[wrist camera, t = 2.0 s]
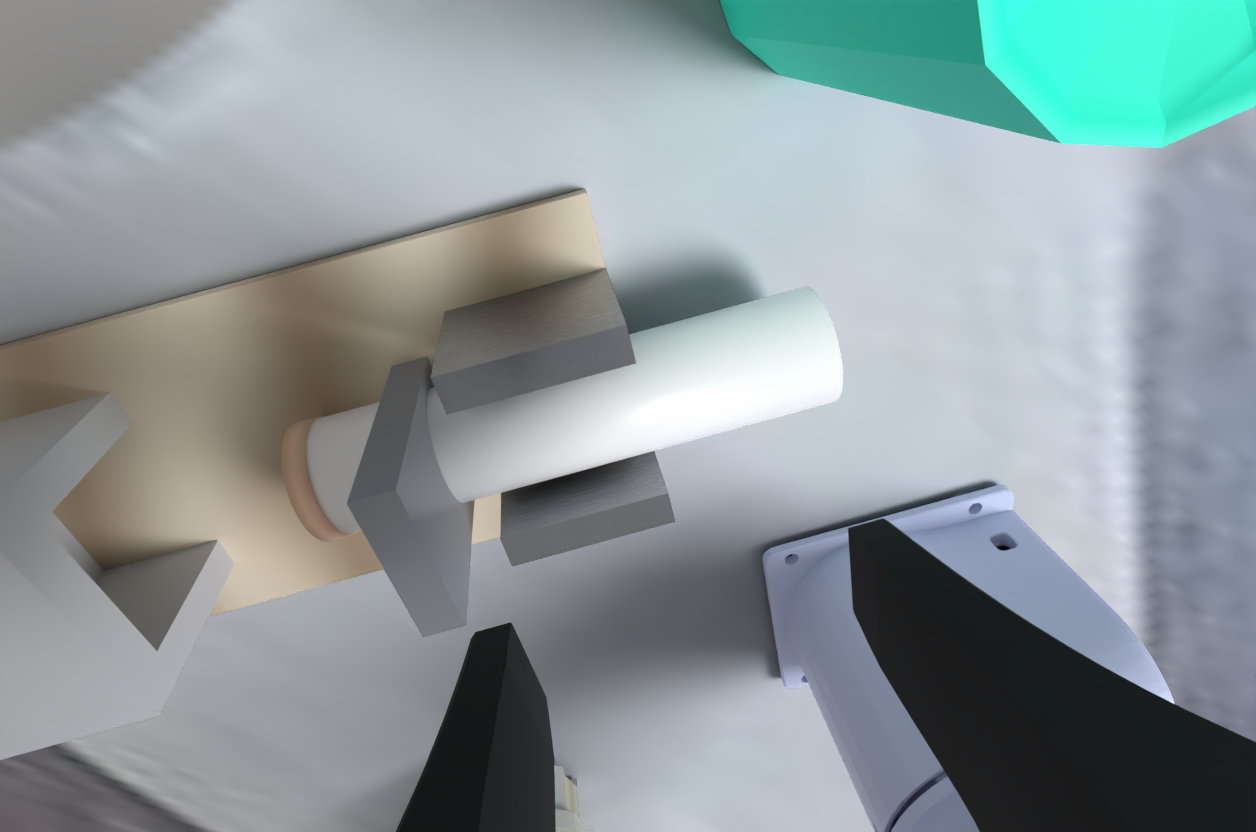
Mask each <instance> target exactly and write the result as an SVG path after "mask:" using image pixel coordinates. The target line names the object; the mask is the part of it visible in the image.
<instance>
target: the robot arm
mask: <svg viewBox="0 0 1256 832" xmlns="http://www.w3.org/2000/svg"><path fill="white" fill-rule="evenodd" d="M1013 499H1014V496H1013V493H1012V492H1011V491H1010V490H1009V489H1008V488H1007V487H1006V486H1004V485H996V486H993V487H989V488H985V489H982V490H978V491H975V492H971V493H967V494H964V495H960V496H956V497H953V498H949V499H946V500H942V501H938V502H935V503H931V504H927V505H924V506H920V507H916V508H913V509H909V510H906V511H902V512H898V513H895V514H891V515H887V516H884V517H880V518H877V519H873V520H869V521H866V522H862V523H858V524H855V525H851V526H848V527H844V528H840V529H837V530H833V531H829V532H826V533H822V534H819V535H815V536H811V537H808V538H804V539H800V540H797V541H793V542H789V543H786V544H782V545H779V546H775V547H772V548H770V549H768V550H767V551H766V552H765V553H764V555H763V558H762V561H763V568H764V574H765V580H766V586H767V593H768V599H769V605H770V611H771V617H772V624H773V630H774V636H775V642H776V648H777V655H778V661H779V667H780V673H781V679H782V681H783V683H784V685H785V687H787V688H790V689H795V688H799V687H803V686H806V685H810V688H811V690H812V692H813V694H814V697H815V699H816V701H817V703H818V706H819V708H820V710H821V712H822V715H823V717H824V719H825V721H826V724H827V726H828V728H829V730H830V733H831V735H832V737H833V739H834V742H835V744H836V746H837V748H838V751H839V753H840V755H841V757H842V760H843V762H844V764H845V766H846V769H847V771H848V773H849V775H850V778H851V780H852V782H853V784H854V787H855V789H856V791H857V793H858V796H859V798H860V800H861V802H862V805H863V807H864V809H865V811H866V814H867V816H868V818H869V820H870V823H871V825H872V827H873V829H874V832H1256V742H1254V741H1252V740H1250V739H1248V738H1245V737H1243V736H1241V735H1239V734H1237V733H1235V732H1232V731H1230V730H1228V729H1226V728H1224V727H1222V726H1219V725H1217V724H1215V723H1213V722H1211V721H1209V720H1206V719H1204V718H1202V717H1200V716H1198V715H1196V714H1193V713H1191V712H1189V711H1187V710H1185V709H1183V708H1181V707H1179V706H1177V705H1175V703H1174V700H1173V698H1172V695H1171V693H1170V690H1169V688H1168V686H1167V684H1166V682H1165V680H1164V678H1163V676H1162V674H1161V673H1160V671H1159V669H1158V667H1157V665H1156V664H1155V662H1154V660H1153V659H1152V657H1151V655H1150V654H1149V652H1148V651H1147V650H1146V648H1145V647H1144V645H1143V644H1142V642H1141V641H1140V640H1139V638H1138V637H1137V636H1136V635H1135V633H1134V632H1133V631H1132V629H1131V628H1130V627H1129V626H1128V625H1127V624H1126V623H1125V622H1124V621H1123V620H1122V618H1121V617H1120V616H1119V615H1118V614H1117V613H1116V612H1115V611H1114V610H1113V609H1112V608H1111V607H1110V606H1109V605H1108V604H1107V603H1106V602H1105V601H1104V600H1103V599H1102V598H1101V597H1100V596H1099V595H1098V594H1097V593H1096V592H1095V591H1094V590H1093V589H1092V588H1091V587H1090V586H1089V585H1088V584H1087V583H1086V582H1085V581H1084V580H1083V579H1082V578H1080V577H1079V576H1078V575H1077V574H1076V573H1075V572H1074V571H1073V570H1072V569H1071V568H1070V567H1069V566H1068V565H1067V564H1066V563H1065V562H1064V561H1063V560H1062V559H1061V558H1060V557H1059V556H1058V555H1057V554H1056V553H1055V552H1054V551H1053V550H1052V549H1051V548H1050V547H1049V546H1048V545H1047V544H1046V543H1045V542H1044V541H1043V540H1042V539H1041V538H1040V537H1039V536H1038V535H1037V534H1036V533H1035V532H1034V531H1033V530H1032V529H1031V528H1030V527H1029V526H1028V525H1027V524H1026V523H1025V522H1024V521H1023V520H1022V519H1021V518H1020V517H1019V516H1018V515H1017V514H1016V513H1015V512H1014V511H1013V510H1012V509H1013ZM973 504H974V505H973ZM972 505H973V506H972ZM790 554H793V555H792V556H790V557H787V556H788V555H790ZM396 832H556V819H555V772H554V754H553V745H552V737H551V729H550V721H549V714H548V707H547V699H546V696H545V694H544V691H543V689H542V687H541V685H540V683H539V681H538V679H537V676H536V674H535V672H534V670H533V668H532V666H531V664H530V661H529V659H528V657H527V655H526V653H525V651H524V649H523V646H522V644H521V642H520V640H519V638H518V636H517V634H516V632H515V629H514V627H513V625H512V623H507V624H503V625H500V626H496V627H493V628H489V629H486V630H482V631H478V632H475V634H474V635H473V637H472V638H471V641H470V644H469V647H468V650H467V654H466V657H465V660H464V663H463V666H462V669H461V672H460V675H459V678H458V681H457V684H456V687H455V689H454V692H453V695H452V698H451V701H450V703H449V706H448V709H447V712H446V714H445V717H444V720H443V722H442V725H441V727H440V730H439V732H438V735H437V737H436V740H435V742H434V745H433V748H432V750H431V753H430V755H429V758H428V760H427V763H426V765H425V767H424V770H423V772H422V775H421V777H420V779H419V781H418V784H417V786H416V788H415V790H414V793H413V795H412V797H411V799H410V801H409V804H408V806H407V808H406V810H405V813H404V815H403V817H402V819H401V822H400V824H399V826H398V828H397V830H396Z"/></svg>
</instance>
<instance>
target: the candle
mask: <svg viewBox="0 0 1256 832" xmlns="http://www.w3.org/2000/svg"><path fill="white" fill-rule="evenodd" d="M720 3H721V6H722V9H723V11H724V14H725V17H726V20H727V23H728V26H729V29H730V32H731V35H732V36H733V37H734V38H736V39H737V40H738V41H739V42H740V43H741V44H743V45H744V46H745V47H746V48H747V49H749V50H750V51H751V52H752V53H753V54H755V55H756V56H757V57H758V58H759V59H761V60H762V61H763V62H764V63H765V64H767V65H768V66H769V67H770V68H771V69H772V70H774V71H775V72H776V73H777V74H778V75H782V76H786V77H790V78H794V79H798V80H803V81H807V82H811V83H815V84H819V85H823V86H827V87H831V88H835V89H840V90H844V91H848V92H852V93H856V94H860V95H864V96H868V97H872V98H877V99H881V100H885V101H889V102H893V103H897V104H901V105H905V106H910V107H914V108H918V109H922V110H926V111H930V112H934V113H938V114H942V115H947V116H951V117H955V118H959V119H963V120H967V121H971V122H975V123H980V124H984V125H988V126H992V127H996V128H1000V129H1004V130H1008V131H1012V132H1017V133H1021V134H1025V135H1029V136H1033V137H1037V138H1041V139H1045V140H1049V141H1054V142H1058V143H1065V144H1087V145H1109V146H1131V147H1153V148H1162V147H1164V146H1166V145H1169V144H1171V143H1173V142H1175V141H1178V140H1180V139H1182V138H1184V137H1187V136H1189V135H1191V134H1193V133H1196V132H1198V131H1200V130H1202V129H1205V128H1207V127H1209V126H1211V125H1214V124H1216V123H1218V122H1220V121H1223V120H1225V119H1227V118H1230V117H1232V116H1234V115H1236V114H1239V113H1241V112H1243V111H1245V110H1248V109H1250V108H1252V107H1254V106H1256V0H720Z"/></svg>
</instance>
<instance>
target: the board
mask: <svg viewBox="0 0 1256 832" xmlns="http://www.w3.org/2000/svg"><path fill="white" fill-rule="evenodd" d="M604 268H605V264H604V260H603V256H602V252H601V248H600V244H599V240H598V236H597V232H596V228H595V224H594V220H593V216H592V212H591V208H590V204H589V200H588V196H587V192H586V190H585V189H581V190H577V191H574V192H570V193H566V194H562V195H559V196H555V197H551V198H547V199H544V200H540V201H536V202H533V203H529V204H525V205H521V206H518V207H514V208H510V209H506V210H503V211H499V212H495V213H492V214H488V215H484V216H480V217H477V218H473V219H469V220H465V221H462V222H458V223H454V224H451V225H447V226H443V227H439V228H436V229H432V230H428V231H424V232H421V233H417V234H413V235H410V236H406V237H402V238H398V239H395V240H391V241H387V242H383V243H380V244H376V245H372V246H368V247H365V248H361V249H357V250H354V251H350V252H346V253H342V254H339V255H335V256H331V257H327V258H324V259H320V260H316V261H313V262H309V263H305V264H301V265H298V266H294V267H290V268H286V269H283V270H279V271H275V272H272V273H268V274H264V275H260V276H257V277H253V278H249V279H245V280H242V281H238V282H234V283H231V284H227V285H223V286H219V287H216V288H212V289H208V290H204V291H201V292H197V293H193V294H189V295H186V296H182V297H178V298H175V299H171V300H167V301H163V302H160V303H156V304H152V305H148V306H145V307H141V308H137V309H134V310H130V311H126V312H122V313H119V314H115V315H111V316H107V317H104V318H100V319H96V320H93V321H89V322H85V323H81V324H78V325H74V326H70V327H66V328H63V329H59V330H55V331H52V332H48V333H44V334H40V335H37V336H33V337H29V338H25V339H22V340H18V341H14V342H10V343H7V344H3V345H0V422H2V421H6V420H10V419H13V418H17V417H21V416H24V415H28V414H32V413H36V412H39V411H43V410H47V409H50V408H54V407H58V406H62V405H65V404H69V403H73V402H76V401H80V400H84V399H88V398H91V397H95V396H99V395H102V394H106V393H111V394H112V396H113V397H114V398H115V400H116V401H117V402H118V404H119V405H120V406H121V408H122V409H123V411H124V412H125V413H126V415H127V416H128V417H129V419H130V420H131V422H132V424H131V425H130V427H129V428H128V429H127V430H126V431H125V432H124V433H123V434H122V435H121V436H120V438H119V439H118V440H117V441H116V442H115V443H114V444H113V445H112V446H111V447H110V449H109V450H108V451H107V452H106V453H105V454H104V455H103V456H102V457H101V458H100V460H99V461H98V462H97V463H96V464H95V465H94V466H93V467H92V468H91V469H90V471H89V472H88V473H87V474H86V475H85V476H84V477H83V478H82V479H81V480H80V482H79V483H78V484H77V485H76V486H75V487H74V488H73V489H72V490H71V491H70V493H69V494H68V495H67V496H66V497H65V498H64V499H63V500H62V501H61V502H60V503H59V505H58V506H57V507H56V508H55V509H54V510H53V511H52V512H53V514H54V515H55V516H56V517H57V518H58V519H59V520H60V521H61V523H62V524H63V525H64V526H65V527H66V528H67V529H68V531H69V532H70V533H71V534H72V535H73V536H74V537H75V539H76V540H77V541H78V542H79V543H80V544H81V545H82V546H83V548H84V549H85V550H86V551H87V552H88V553H89V554H90V556H91V557H92V558H93V559H94V560H95V561H96V562H97V564H98V565H99V566H100V567H101V568H102V569H103V570H104V571H106V570H110V569H114V568H117V567H121V566H125V565H128V564H132V563H136V562H139V561H143V560H147V559H150V558H154V557H158V556H161V555H165V554H169V553H172V552H176V551H180V550H183V549H187V548H191V547H194V546H198V545H202V544H205V543H209V542H213V541H216V540H219V542H220V543H221V545H222V546H223V547H224V549H225V550H226V551H227V553H228V554H229V556H230V557H231V558H232V560H233V561H234V562H235V564H234V566H233V568H232V570H231V572H230V574H229V576H228V578H227V580H226V582H225V584H224V586H223V588H222V590H221V592H220V594H219V596H218V598H217V600H216V603H215V605H214V607H213V609H212V611H211V613H210V615H209V617H210V616H214V615H217V614H221V613H225V612H228V611H232V610H236V609H239V608H243V607H247V606H250V605H254V604H258V603H261V602H265V601H268V600H272V599H276V598H279V597H283V596H287V595H290V594H294V593H298V592H301V591H305V590H309V589H312V588H316V587H320V586H323V585H327V584H331V583H334V582H338V581H341V580H345V579H349V578H352V577H356V576H360V575H363V574H367V573H371V572H374V571H378V570H382V569H384V568H383V566H382V565H381V563H380V561H379V559H378V558H377V556H376V554H375V552H374V551H373V549H372V547H371V546H370V544H369V542H368V540H367V539H366V537H365V535H364V533H363V532H362V531H359V532H357V533H356V534H355V535H352V536H348V537H345V538H341V539H337V540H334V541H330V542H324V541H320V540H318V539H317V538H315V537H314V536H312V535H311V534H310V533H309V532H308V531H307V530H306V528H305V527H304V526H303V524H302V523H301V522H300V520H299V518H298V517H297V515H296V513H295V511H294V509H293V507H292V504H291V502H290V499H289V497H288V494H287V490H286V487H285V483H284V478H283V473H282V463H281V451H282V443H283V439H284V436H285V433H286V431H287V430H288V428H289V427H290V426H291V425H292V424H294V423H296V422H300V421H304V420H307V419H311V418H315V417H319V416H324V417H326V416H329V415H333V414H337V413H341V412H344V411H348V410H352V409H355V408H359V407H363V406H366V405H370V404H374V403H377V402H380V400H381V397H382V394H383V391H384V388H385V385H386V382H387V379H388V376H389V373H390V370H391V367H392V366H394V365H397V364H401V363H405V362H408V361H412V360H416V359H419V358H423V357H428V359H429V361H430V364H431V366H432V368H433V364H434V359H435V354H436V349H437V345H438V340H439V335H440V331H441V326H442V321H443V317H444V312H445V311H449V310H452V309H456V308H460V307H463V306H467V305H471V304H475V303H478V302H482V301H486V300H489V299H493V298H497V297H501V296H504V295H508V294H512V293H515V292H519V291H523V290H527V289H530V288H534V287H538V286H541V285H545V284H549V283H552V282H556V281H560V280H564V279H567V278H571V277H575V276H578V275H582V274H586V273H590V272H593V271H597V270H601V269H604ZM500 532H501V493H498V494H495V495H491V496H487V497H484V498H480V499H476V500H474V515H473V529H472V543H471V545H473V544H476V543H480V542H484V541H487V540H491V539H495V538H498V537H500Z"/></svg>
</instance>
